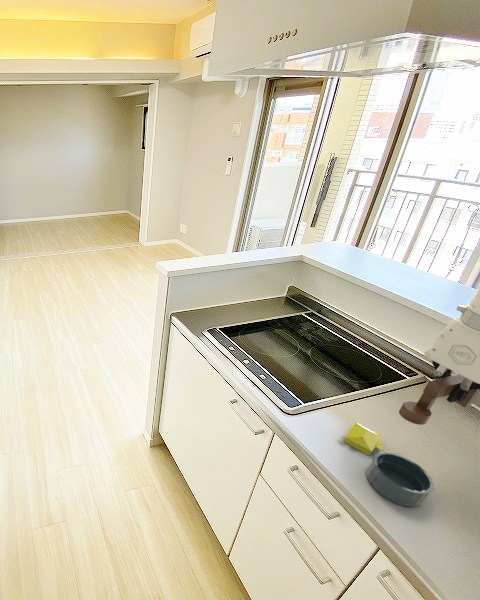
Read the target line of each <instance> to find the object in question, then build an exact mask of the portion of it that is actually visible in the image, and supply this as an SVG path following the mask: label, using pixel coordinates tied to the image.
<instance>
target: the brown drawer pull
mask: <svg viewBox="0 0 480 600" xmlns="http://www.w3.org/2000/svg"><path fill="white" fill-rule="evenodd" d="M464 378H465V377H463V376H461V375H459V374H457V373H455V374H451V376H447V377H443V378H439V379H435V378H434V379H435V380H434V379H431V380H429V381H428V382H427V383H426V385H425V387H424V389H423V391H422V392H423V393H422V394H421V396H420V397H419V399H418V401H413V400H406V401H404V402H403V403H402V405H401V406H400V408H399V411H398V414H399V415H400V416H401V417H402V418H403V419H404V420H406V421H408V422H409V423H411V424H414V425H418V426H419V425H421V426H423V425H426V424H427V423H428V421H429V420H430V418H431V417H432V411H431V408H432V406H433V405H434V403H435V402H436V400H437V399H439V398H444V397H447V396H449V395H450V394H451V392H452V390H453V389H454V387H456V386H459V385H460V384H461V383H462V381H463V380H464ZM479 394H480V389H473V390H471V391H470V393H469V394H468V396H467V397H466V398H465V399H464V400H463V401H455V402H454V403H456V404H458V405H460V406H461V407H462V408H468V407H471V405H472V404H473V402H475V400H476V398H477V397H478V396H479Z"/></svg>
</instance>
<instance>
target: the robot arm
mask: <svg viewBox="0 0 480 600" xmlns="http://www.w3.org/2000/svg"><path fill="white" fill-rule="evenodd" d="M456 311H459V312H460V313H461V315H460V317H459V316H458V317H455V318H453V319H452V320H451V321H450V322H449V323H448V324H447V325H446V327H445V328H444V329H443V330H441V332H440V333H439V335H437V337H436V339H435V340H434V342H432V344H431V346H430V348H429V349H428V350H427V351H425V352H424V356H425V357H426V358H427V359H428V360H429V362H431V363H432V366H433V368H434V370H435V371H434V374H435V375H436V376H435V378H434V379H433V380H435V379H439V378H443V377H447V376H451V375H452V374H453V373H455V374H459V375H461V376H463V377H465V378H464V380H463V381H462V383H461V384H460V385H459V386H456V387H454V389H453V390H452V392H451V394H450V395H447V396H448V397H447V398H446V400H447V402H448V403H450V404H451V403H456V402H455V401H463V400H464V399H465V398H466V397H467V396H468V394H469V393H470V391H471V390H473V389H480V286H479V288H478V289H477V291H476V292H475V294H474V296H473V298H472V299H471V301H470V303H469V304H468V305H466V304H459V305H457V307H456Z"/></svg>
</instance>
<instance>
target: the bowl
mask: <svg viewBox="0 0 480 600" xmlns="http://www.w3.org/2000/svg"><path fill="white" fill-rule="evenodd" d="M365 474H366V478H367V480H368V481H369V483H370V485H371V487H373V488H374V490H375V491H377V492H378V493H379V494H380V495H381V496H382V497H384V498H385V499H387V500H389V501H391V502H393V503H394V504H398V505H401V506H404V507H412V508H415V507H420V506H421V505H423V504H424V503H425V502H426V500H427V499H428V498H429V496H430V495H431V494H432V492H433V491H434V487H435V484H434V482H433V478H432V477H431V476H430V474H429V473H428V472H427V471H426V470H425V469H423V468H422V467H421V466H420V465H419V464H417V462H414V461H413V460H411V459H409V458H407V457H405V456H403V455H402V454H401V455H400V454H397V453H395V452H389V451H380V452H377V453H375V454H373V457H372V459H371V460H370V462H369V464H368V466H367V468H366V471H365Z"/></svg>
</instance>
